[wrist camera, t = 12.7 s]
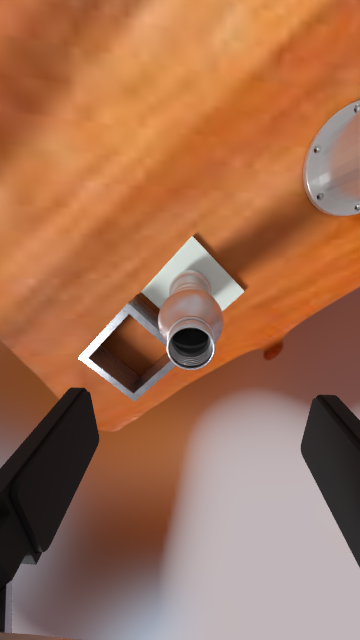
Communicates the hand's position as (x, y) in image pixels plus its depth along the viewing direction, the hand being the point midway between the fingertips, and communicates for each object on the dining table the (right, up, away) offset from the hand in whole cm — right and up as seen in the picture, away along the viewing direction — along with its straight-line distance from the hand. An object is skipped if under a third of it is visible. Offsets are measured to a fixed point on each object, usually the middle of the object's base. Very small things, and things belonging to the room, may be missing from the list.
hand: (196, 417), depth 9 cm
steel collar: (-8, 0, +30) cm, 31 cm away
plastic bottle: (+1, +9, +25) cm, 27 cm away
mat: (+1, +9, +26) cm, 27 cm away
